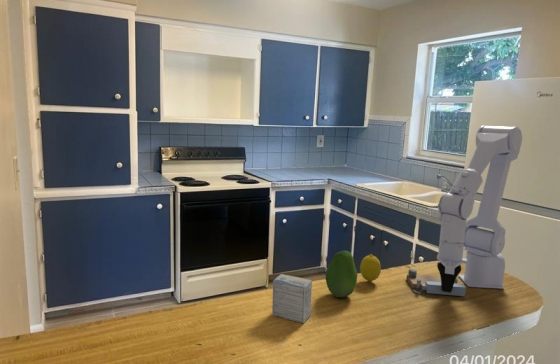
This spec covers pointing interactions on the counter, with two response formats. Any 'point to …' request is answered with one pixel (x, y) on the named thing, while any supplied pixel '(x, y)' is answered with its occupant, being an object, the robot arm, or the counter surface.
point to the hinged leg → (437, 289)
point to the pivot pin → (418, 288)
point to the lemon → (370, 268)
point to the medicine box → (292, 298)
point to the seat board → (421, 278)
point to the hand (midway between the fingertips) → (446, 291)
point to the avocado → (341, 274)
